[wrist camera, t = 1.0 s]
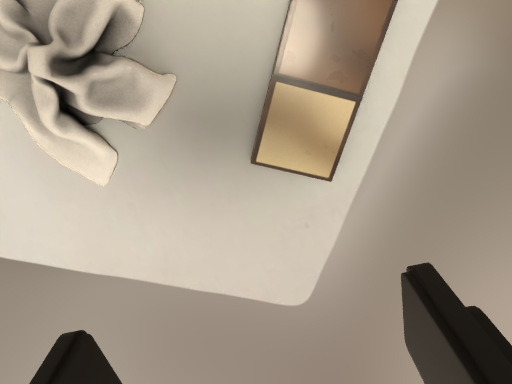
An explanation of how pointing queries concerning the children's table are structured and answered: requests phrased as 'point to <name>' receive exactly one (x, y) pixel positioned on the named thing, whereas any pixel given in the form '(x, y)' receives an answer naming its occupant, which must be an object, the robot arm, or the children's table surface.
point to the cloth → (76, 76)
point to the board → (319, 83)
